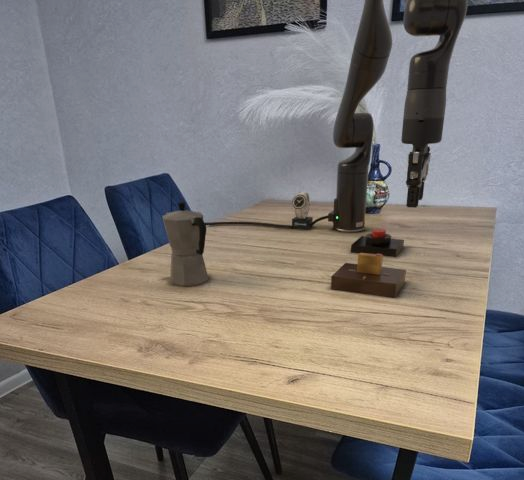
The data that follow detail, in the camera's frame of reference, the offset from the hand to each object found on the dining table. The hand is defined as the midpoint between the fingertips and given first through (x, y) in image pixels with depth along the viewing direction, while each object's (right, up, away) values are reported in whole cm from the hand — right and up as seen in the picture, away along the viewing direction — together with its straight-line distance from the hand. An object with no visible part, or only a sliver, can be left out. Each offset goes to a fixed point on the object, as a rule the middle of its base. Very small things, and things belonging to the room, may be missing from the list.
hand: (414, 203), depth 98 cm
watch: (-18, +9, +57) cm, 60 cm away
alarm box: (0, -3, +31) cm, 31 cm away
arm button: (0, 0, +30) cm, 30 cm away
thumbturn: (-8, -13, +6) cm, 17 cm away
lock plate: (-8, -16, +7) cm, 19 cm away
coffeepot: (-48, -14, +14) cm, 52 cm away
